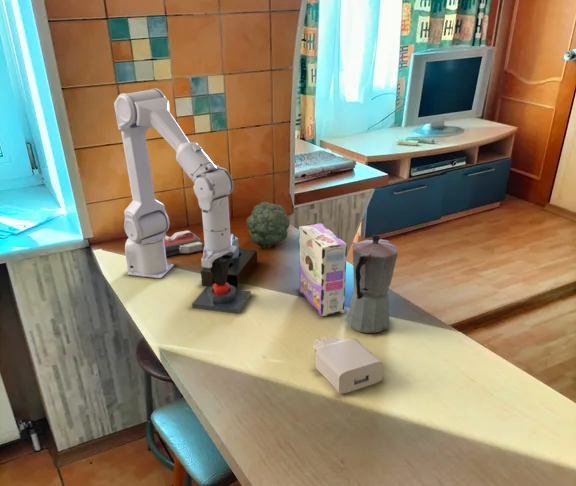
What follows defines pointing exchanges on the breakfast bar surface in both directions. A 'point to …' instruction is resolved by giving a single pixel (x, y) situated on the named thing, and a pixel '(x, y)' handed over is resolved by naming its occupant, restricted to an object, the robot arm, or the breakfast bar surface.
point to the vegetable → (267, 224)
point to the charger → (347, 364)
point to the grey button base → (222, 300)
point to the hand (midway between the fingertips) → (220, 283)
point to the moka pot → (371, 284)
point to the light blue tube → (236, 252)
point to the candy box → (322, 268)
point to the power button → (221, 289)
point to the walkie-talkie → (182, 243)
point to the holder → (234, 269)
